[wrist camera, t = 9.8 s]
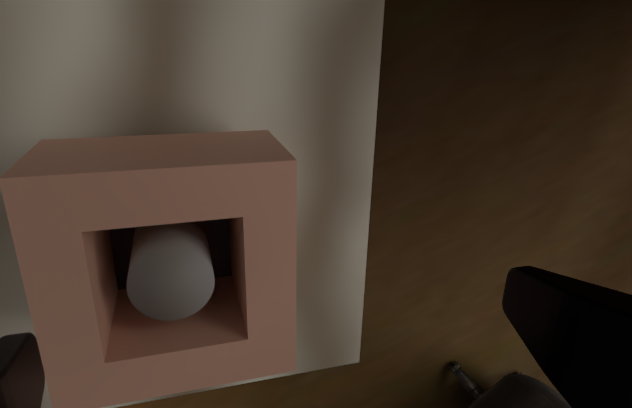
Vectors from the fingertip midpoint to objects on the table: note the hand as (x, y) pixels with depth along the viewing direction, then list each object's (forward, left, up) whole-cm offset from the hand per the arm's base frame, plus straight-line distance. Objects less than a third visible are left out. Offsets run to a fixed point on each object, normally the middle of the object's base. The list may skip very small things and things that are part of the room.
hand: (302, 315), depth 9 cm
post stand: (+2, +2, -12) cm, 12 cm away
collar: (+2, +2, -9) cm, 9 cm away
